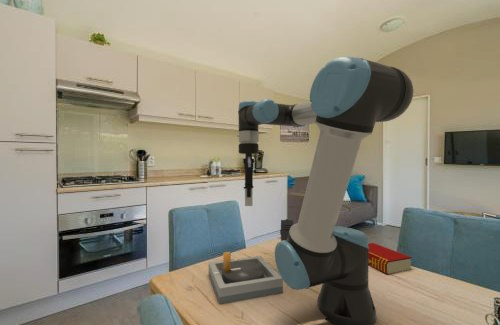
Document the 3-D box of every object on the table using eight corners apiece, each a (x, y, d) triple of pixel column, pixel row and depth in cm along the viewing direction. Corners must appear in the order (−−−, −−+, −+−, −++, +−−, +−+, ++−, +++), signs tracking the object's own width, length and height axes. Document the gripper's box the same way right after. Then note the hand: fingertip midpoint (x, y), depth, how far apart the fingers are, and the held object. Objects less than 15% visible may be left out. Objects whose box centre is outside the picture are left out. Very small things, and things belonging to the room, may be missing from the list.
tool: (292, 240, 122) (293, 216, 115) (295, 274, 105) (296, 247, 98) (279, 240, 123) (280, 215, 116) (280, 273, 106) (281, 247, 99)
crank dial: (255, 265, 94) (255, 242, 94) (270, 282, 81) (270, 255, 81) (218, 270, 89) (218, 246, 89) (227, 289, 76) (227, 261, 76)
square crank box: (282, 292, 79) (282, 277, 79) (219, 304, 72) (219, 287, 72) (260, 267, 98) (260, 255, 98) (208, 274, 91) (208, 261, 91)
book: (350, 257, 108) (350, 246, 108) (373, 254, 113) (373, 242, 113) (386, 275, 91) (386, 261, 91) (411, 270, 96) (411, 257, 96)
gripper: (238, 144, 101) (238, 203, 101) (238, 141, 88) (238, 209, 88) (256, 144, 102) (257, 202, 102) (260, 141, 89) (260, 208, 89)
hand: (248, 205), depth 95 cm, fingers closed
